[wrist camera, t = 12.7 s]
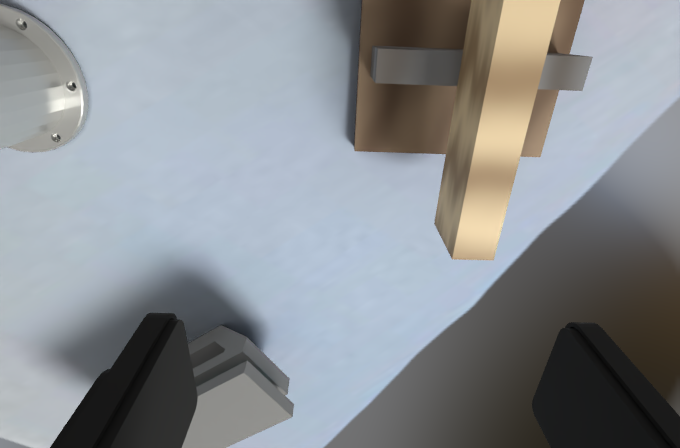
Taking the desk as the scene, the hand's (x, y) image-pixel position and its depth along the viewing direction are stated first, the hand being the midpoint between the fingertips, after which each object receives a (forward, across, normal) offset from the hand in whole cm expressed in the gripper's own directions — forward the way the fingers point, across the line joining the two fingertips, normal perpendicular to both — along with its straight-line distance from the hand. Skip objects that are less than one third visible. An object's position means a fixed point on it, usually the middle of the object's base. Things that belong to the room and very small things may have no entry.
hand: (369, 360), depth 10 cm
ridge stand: (+30, -10, -5) cm, 32 cm away
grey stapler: (+31, +17, +33) cm, 48 cm away
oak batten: (+24, -10, -5) cm, 26 cm away
